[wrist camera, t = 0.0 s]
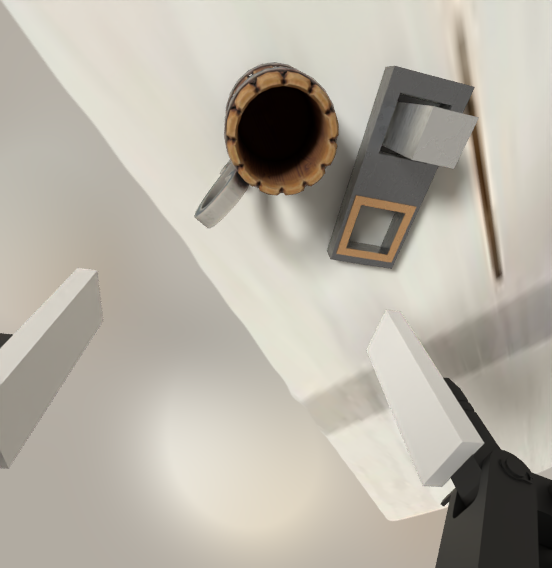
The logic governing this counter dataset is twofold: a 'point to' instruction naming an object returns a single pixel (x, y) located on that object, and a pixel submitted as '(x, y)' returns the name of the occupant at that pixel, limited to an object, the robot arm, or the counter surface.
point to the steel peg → (428, 133)
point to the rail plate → (390, 169)
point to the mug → (272, 138)
